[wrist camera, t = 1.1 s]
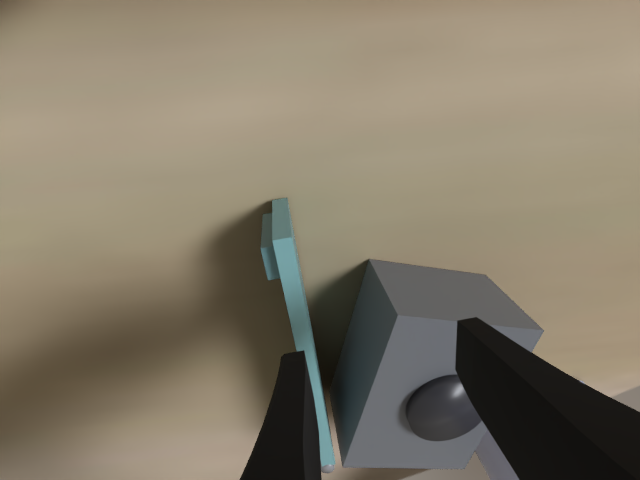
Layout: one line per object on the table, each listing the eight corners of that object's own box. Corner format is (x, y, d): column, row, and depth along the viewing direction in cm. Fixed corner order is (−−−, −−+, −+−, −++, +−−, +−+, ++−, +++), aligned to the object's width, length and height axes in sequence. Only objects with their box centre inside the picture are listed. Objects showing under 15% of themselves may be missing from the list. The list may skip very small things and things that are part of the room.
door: (287, 197, 19) (291, 237, 14) (325, 401, 26) (336, 471, 21) (260, 202, 19) (257, 243, 14) (306, 405, 26) (313, 476, 21)
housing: (485, 275, 23) (552, 338, 18) (429, 397, 27) (469, 478, 22) (369, 259, 21) (402, 323, 16) (329, 391, 26) (344, 477, 20)
